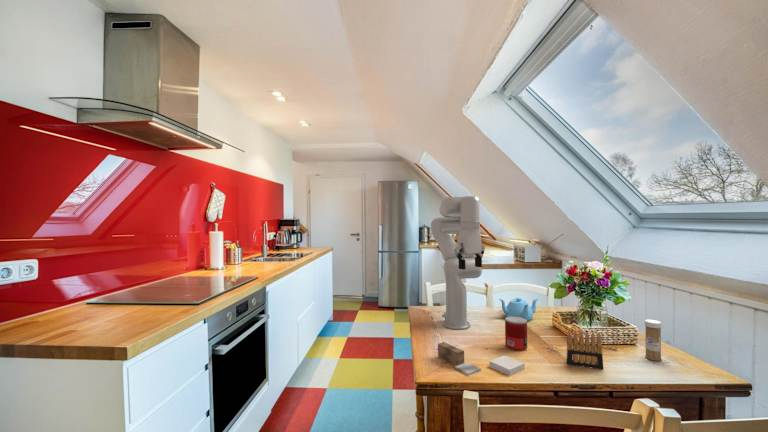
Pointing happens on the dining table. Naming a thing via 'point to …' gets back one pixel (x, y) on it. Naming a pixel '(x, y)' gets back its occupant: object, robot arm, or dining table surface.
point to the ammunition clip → (584, 351)
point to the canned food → (516, 333)
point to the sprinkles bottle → (653, 340)
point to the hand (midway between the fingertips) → (470, 268)
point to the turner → (456, 358)
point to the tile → (507, 365)
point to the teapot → (519, 308)
